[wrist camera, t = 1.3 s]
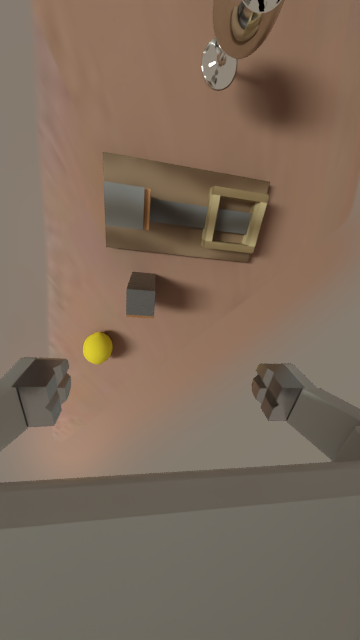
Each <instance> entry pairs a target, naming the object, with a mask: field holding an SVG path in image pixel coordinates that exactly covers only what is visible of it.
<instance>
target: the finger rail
mask: <svg viewBox="0 0 360 640" xmlns="http://www.w3.org/2000/svg"><path fill="white" fill-rule="evenodd" d="M103 171H104V201H105V225H106V247H111V248H120V249H130V250H139V251H148V252H157V253H166V254H175V255H184V256H193V257H202V258H211V259H220V260H229V261H238V262H248V260H249V257H250V253H253V252H254V248H255V245H256V241H257V238H258V234H259V231H260V227H261V223H262V220H263V216H264V213H265V209H266V206H267V202H268V198H269V195H267V191H268V187H269V184H270V182H268V181H263V180H257V179H252V178H246V177H240V176H235V175H229V174H224V173H218V172H213V171H207V170H201V169H196V168H190V167H185V166H179V165H174V164H168V163H162V162H157V161H151V160H146V159H140V158H135V157H129V156H124V155H118V154H112V153H107V152H103Z"/></svg>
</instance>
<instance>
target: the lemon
mask: <svg viewBox="0 0 360 640" xmlns="http://www.w3.org/2000/svg"><path fill="white" fill-rule="evenodd" d="M112 349H113V345H112V341H111V339H110V338H109V336H107V335H106V334H104V333H102V332H96V333H93V334H92V335H90V336H88V338H87V339H86V340H85V342H84V345H83V353H84V356H85V358H86V359H87V360H88V361H89V362H91V363H94V364H97V365H98V364H101V363H103V362H104V361H106V360H107V359H108V358H109V357H110V356H111V353H112Z"/></svg>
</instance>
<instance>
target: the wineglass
mask: <svg viewBox="0 0 360 640" xmlns="http://www.w3.org/2000/svg"><path fill="white" fill-rule="evenodd" d="M284 1H285V0H214V1H213V28H214V33H215V37H216V38H214V39H212V40H211V41H210V42H209V43H208V44H207V46H206V48H205V50H204V52H203V56H202V63H201V67H202V74H203V77H204V79H205V81H206V83H207V84H208V85H209V86H210V87H211V88H212V89H215V90H221V89H224V88H226V87H227V86H228V85H229V84H230V83H231V81H232V80H233V78H234V75H235V72H236V66H237V59H243V58H246V57H248V56H250V55H251V54H253V53H254V52H255V51H256V50H257V49H258V48H259V47H260V46H261V45H262V44H263V42H264V41H265V40H266V38H267V37H268V35H269V33H270V32H271V30H272V28H273V26H274V24H275V22H276V20H277V18H278V16H279V13H280V11H281V8H282V6H283V3H284Z"/></svg>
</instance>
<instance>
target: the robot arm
mask: <svg viewBox="0 0 360 640" xmlns="http://www.w3.org/2000/svg"><path fill="white" fill-rule="evenodd" d="M68 369H69V364H68V360H67V359H61V358H37V357H24V358H21V359H19V360H18V361H17V363H16V364H15V365H14V366H13V367H12V368H11V369H10V370H9V371H8V372H7V373H6V374H5V375H4V376H3V377H2V378H1V379H0V451H1V450H2V449H4V448H5V447H6V446H7V445H8V444H10V443H11V442H12V441H13V440H14V439H16V438H17V437H18V436H19V435H20V434H22V433H23V432H24V431H25V430H26V429H27V427H40V426H54V425H55V423H56V421H57V419H58V417H59V415H60V413H61V411H62V409H61V404H62V403H64V402H65V401H66V400H67V398H68V396H69V392H70V388H71V377H70V375H68V374H67V373H66V372H67V370H68ZM256 371H257V374H258V375H257V376H256V377H254V378H253V382H252V392H253V395H254V397H255V398H256V400H258V401H259V402H260V403H261V409H262V411H263V413H264V414H265V416H266V418H267V419H268V421H287V422H288V423H289V424H290V425H291V426H292V427H294V428H295V429H296V430H297V431H298V432H300V433H301V434H302V435H303V436H304V437H305V438H306V439H308V440H309V441H310V442H311V443H312V444H313V445H315V446H316V447H317V448H318V449H319V450H320V451H322V452H323V453H324V454H325V455H326V456H327V457H329V458H330V459H331V460H332V461H331V462H326V463H325V462H324V463H309V464H294V465H277V466H261V467H246V468H230V469H214V470H199V471H183V472H166V473H149V474H134V475H117V476H101V477H86V478H85V477H84V478H68V479H53V480H36V481H21V482H4V483H0V640H360V409H359V408H357V407H355V406H353V405H351V404H350V403H348V402H345V401H344V400H342V399H340V398H338V397H336V396H334V395H332V394H331V393H329V392H326V391H325V390H323V389H321V388H317V387H316V386H315V385H314V384H313V383H312V382H311V381H310V380H309V379H308V378H307V377H306V376H305V375H304V374H303V373H302V372H301V371H300V370H299V369H298V368H297V367H296V366H295V365H293V364H291V363H284V364H283V363H281V364H262V363H261V364H259V365H258V367H257V370H256Z"/></svg>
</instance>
